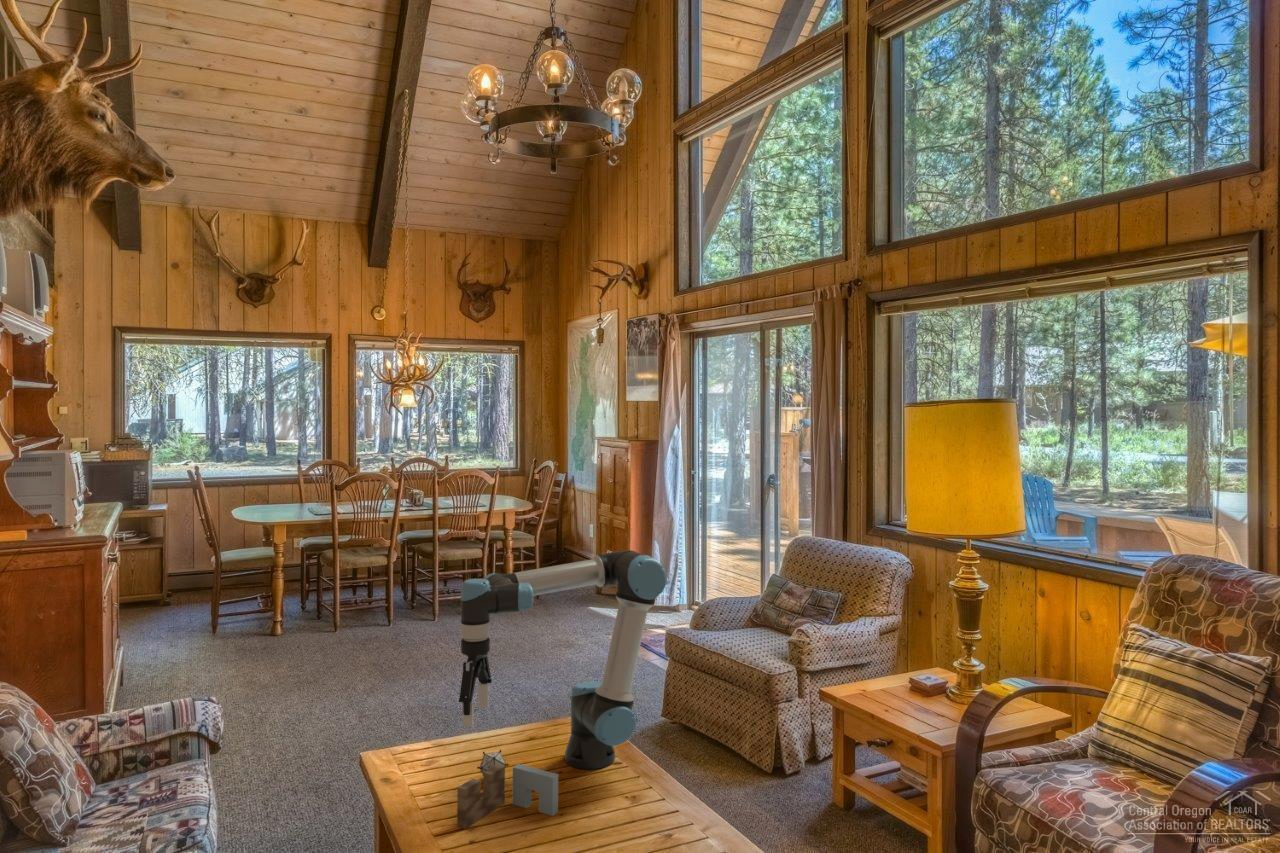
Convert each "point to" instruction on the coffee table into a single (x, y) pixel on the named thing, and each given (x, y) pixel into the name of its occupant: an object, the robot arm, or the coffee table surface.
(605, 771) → the coffee table surface
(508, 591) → the robot arm
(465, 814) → the base plank
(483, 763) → the game die
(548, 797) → the cross plank
